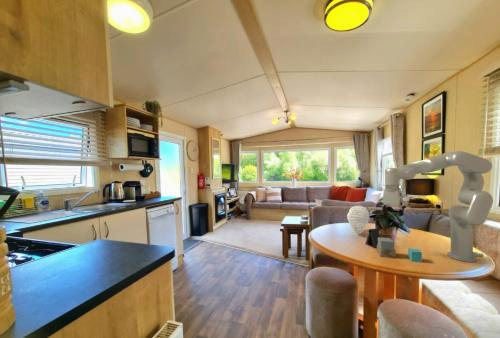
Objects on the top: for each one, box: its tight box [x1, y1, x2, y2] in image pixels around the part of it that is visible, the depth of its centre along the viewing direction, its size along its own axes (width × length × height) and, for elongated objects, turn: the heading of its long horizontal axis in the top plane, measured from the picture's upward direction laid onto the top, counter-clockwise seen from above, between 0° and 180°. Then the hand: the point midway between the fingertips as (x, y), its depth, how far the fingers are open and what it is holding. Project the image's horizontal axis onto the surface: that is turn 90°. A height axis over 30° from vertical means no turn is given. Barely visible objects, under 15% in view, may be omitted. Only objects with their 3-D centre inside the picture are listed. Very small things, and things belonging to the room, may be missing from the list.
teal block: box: [407, 248, 423, 263], centre depth 126 cm, size 5×5×6 cm
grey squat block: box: [378, 237, 395, 250], centre depth 134 cm, size 7×7×5 cm
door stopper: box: [365, 227, 381, 250], centre depth 149 cm, size 9×6×12 cm, turn 14°
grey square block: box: [376, 245, 397, 259], centre depth 134 cm, size 8×8×5 cm
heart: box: [346, 205, 370, 235], centre depth 174 cm, size 28×16×22 cm, turn 150°
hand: (392, 214), depth 134 cm, fingers open, 9 cm apart
